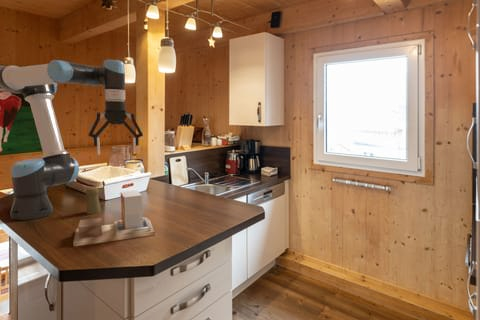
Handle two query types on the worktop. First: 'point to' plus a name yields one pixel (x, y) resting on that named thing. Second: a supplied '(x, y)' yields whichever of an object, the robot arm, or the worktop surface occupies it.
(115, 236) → the board
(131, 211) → the small box
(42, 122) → the robot arm
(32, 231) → the worktop surface
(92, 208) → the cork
